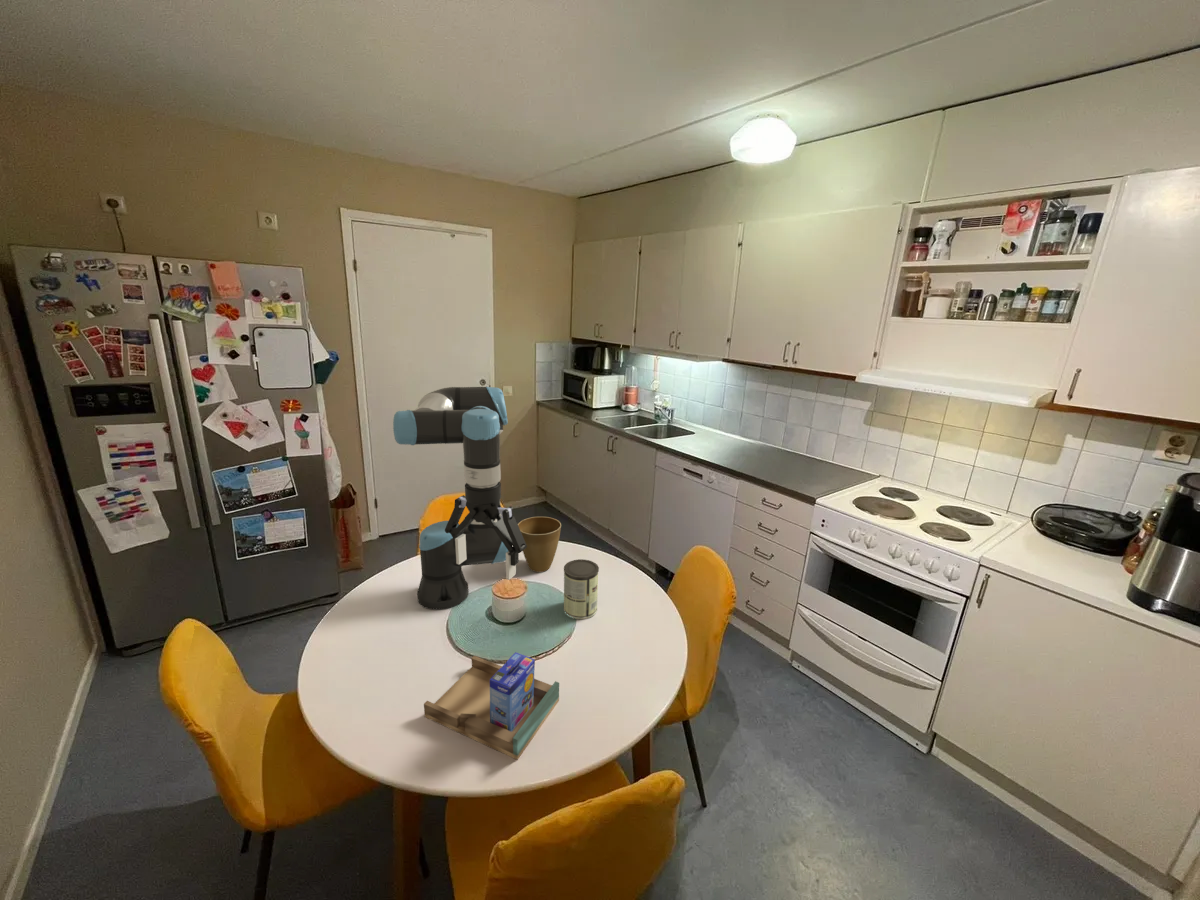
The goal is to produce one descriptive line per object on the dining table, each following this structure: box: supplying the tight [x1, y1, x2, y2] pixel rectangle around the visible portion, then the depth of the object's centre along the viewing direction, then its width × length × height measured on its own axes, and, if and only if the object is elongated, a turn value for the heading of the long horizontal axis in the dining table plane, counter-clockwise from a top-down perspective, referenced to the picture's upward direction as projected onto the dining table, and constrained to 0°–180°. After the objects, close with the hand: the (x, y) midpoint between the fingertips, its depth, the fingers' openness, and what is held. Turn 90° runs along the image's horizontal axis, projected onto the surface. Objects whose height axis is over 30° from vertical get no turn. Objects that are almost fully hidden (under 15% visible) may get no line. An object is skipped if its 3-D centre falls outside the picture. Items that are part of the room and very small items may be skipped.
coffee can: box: [563, 558, 600, 620], centre depth 143 cm, size 10×10×14 cm
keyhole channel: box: [423, 655, 560, 761], centre depth 107 cm, size 24×17×5 cm
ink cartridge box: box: [490, 651, 536, 732], centre depth 103 cm, size 10×6×14 cm, turn 156°
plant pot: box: [517, 516, 562, 573], centre depth 166 cm, size 15×15×16 cm
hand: (485, 569), depth 110 cm, fingers open, 13 cm apart
